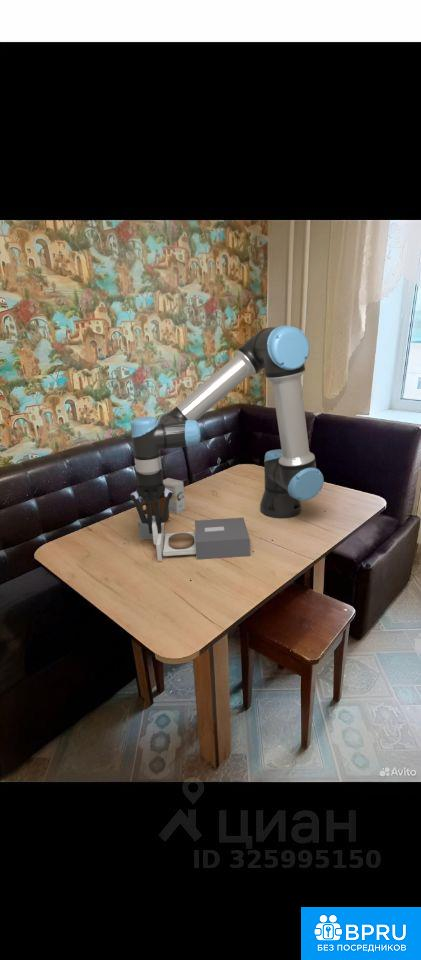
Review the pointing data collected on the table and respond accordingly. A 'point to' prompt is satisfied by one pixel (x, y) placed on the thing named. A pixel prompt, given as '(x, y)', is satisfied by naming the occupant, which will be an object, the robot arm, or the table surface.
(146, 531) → the block
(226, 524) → the housing
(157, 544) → the tray
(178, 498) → the ink box
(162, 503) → the mug
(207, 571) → the table surface
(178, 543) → the coaster
